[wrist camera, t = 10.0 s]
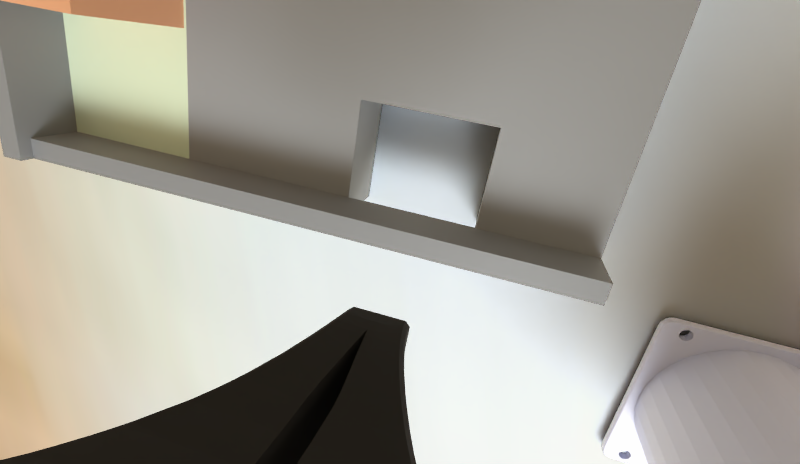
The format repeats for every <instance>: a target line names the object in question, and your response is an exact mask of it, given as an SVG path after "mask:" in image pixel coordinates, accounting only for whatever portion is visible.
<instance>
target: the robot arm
mask: <svg viewBox="0 0 800 464" xmlns="http://www.w3.org/2000/svg"><path fill="white" fill-rule="evenodd" d="M409 328H410V327H409V326H408V324H407V322H406V321H403V320H399V319H396V318H392V317H388V316H385V315H381V314H378V313H374V312H371V311H367V310H364V309H360V308H356V307H353V308H351V309H349V310H347V311H346V312H344V313H343V314H342V315H340V316H339V317H337V318H336V319H334V320H333V321H331V322H330V323H329V324H327V325H326V326H324V327H323V328H321V329H320V330H318V331H317V332H315V333H314V334H312V335H311V336H309V337H308V338H306V339H304V340H303V341H301V342H300V343H298V344H296V345H295V346H293V347H292V348H290V349H289V350H287V351H285V352H284V353H282V354H280V355H278V356H277V357H275V358H273V359H271V360H270V361H268V362H266V363H264V364H262V365H261V366H259V367H257V368H255V369H254V370H252V371H250V372H248V373H246V374H244V375H242V376H240V377H238V378H236V379H234V380H232V381H230V382H228V383H226V384H224V385H222V386H220V387H218V388H216V389H214V390H211V391H209V392H207V393H205V394H202V395H200V396H198V397H196V398H193V399H191V400H188V401H186V402H183V403H181V404H178V405H175V406H173V407H170V408H167V409H165V410H162V411H159V412H157V413H154V414H152V415H149V416H146V417H144V418H141V419H138V420H136V421H133V422H130V423H127V424H124V425H121V426H118V427H115V428H112V429H109V430H106V431H103V432H100V433H97V434H94V435H90V436H87V437H84V438H80V439H77V440H74V441H70V442H67V443H64V444H60V445H57V446H53V447H50V448H46V449H43V450H39V451H35V452H32V453H28V454H24V455H20V456H16V457H12V458H8V459H4V460H0V464H416V461H415V456H414V451H413V446H412V441H411V435H410V429H409V421H408V414H407V406H406V396H405V380H404V351H405V347H406V342H407V337H408V332H409ZM684 330H690V332H689V333H688V334H687V335H684V336H681V335H679V334H680V333H681V332H682V331H684ZM601 447H602V451H603V453H604V454H605V455H606V456H607V457H609V458H612V459H615V460H618V461H621V462H624V463H628V464H800V350H799V349H795V348H791V347H787V346H783V345H779V344H775V343H772V342H768V341H764V340H760V339H756V338H752V337H748V336H744V335H740V334H736V333H733V332H729V331H725V330H721V329H717V328H713V327H709V326H705V325H701V324H697V323H694V322H690V321H686V320H682V319H678V318H671V317H670V318H665V319H664V320H662V321H661V322H660V323H659V324H658V326H657V328H656V331H655V333H654V335H653V337H652V339H651V341H650V343H649V345H648V347H647V349H646V351H645V354H644V356H643V358H642V360H641V362H640V364H639V366H638V368H637V370H636V372H635V374H634V376H633V379H632V381H631V383H630V385H629V387H628V389H627V391H626V393H625V395H624V397H623V399H622V401H621V404H620V406H619V408H618V410H617V412H616V414H615V416H614V418H613V420H612V422H611V424H610V427H609V429H608V431H607V433H606V435H605V437H604V439H603V441H602V444H601ZM621 451H627V452H621Z"/></svg>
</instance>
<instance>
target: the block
mask: <svg viewBox="0 0 800 464" xmlns="http://www.w3.org/2000/svg"><path fill="white" fill-rule="evenodd" d="M0 1H6V2H11V3H16V4H21V5H26V6H31V7H37V8H42V9H47V10H52V11H57V12H62V13H68V14H74V15H82V16H90V17H98V18H106V19H113V20H121V21H129V22H137V23H145V24H153V25H161V26H169V27H177V28H184V5H183V0H0Z"/></svg>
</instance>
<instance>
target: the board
mask: <svg viewBox="0 0 800 464" xmlns="http://www.w3.org/2000/svg"><path fill="white" fill-rule="evenodd" d="M700 2H701V0H183V5H184V28H177V27H169V26H161V25H153V24H145V23H137V22H129V21H121V20H113V19H106V18H98V17H90V16H82V15H74V14H68V13H62V12H57V11H52V10H47V9H42V8H37V7H31V6H26V5H21V4H16V3H11V2H6V1H0V138H1V143H2V149H3V154H4V156H5V157H9V158H12V159H16V160H20V161H22V160H27V159H33V158H35V159H38V160H42V161H46V162H50V163H54V164H58V165H62V166H66V167H69V168H73V169H77V170H81V171H85V172H89V173H93V174H97V175H100V176H104V177H108V178H112V179H116V180H120V181H124V182H128V183H131V184H135V185H139V186H143V187H147V188H151V189H155V190H158V191H162V192H166V193H170V194H174V195H178V196H182V197H186V198H189V199H193V200H197V201H201V202H205V203H209V204H213V205H217V206H220V207H224V208H228V209H232V210H236V211H240V212H244V213H247V214H251V215H255V216H259V217H263V218H267V219H271V220H275V221H278V222H282V223H286V224H290V225H294V226H298V227H302V228H306V229H309V230H313V231H317V232H321V233H325V234H329V235H333V236H337V237H340V238H344V239H348V240H352V241H356V242H360V243H364V244H367V245H371V246H375V247H379V248H383V249H387V250H391V251H395V252H398V253H402V254H406V255H410V256H414V257H418V258H422V259H426V260H429V261H433V262H437V263H441V264H445V265H449V266H453V267H456V268H460V269H464V270H468V271H472V272H476V273H480V274H484V275H487V276H491V277H495V278H499V279H503V280H507V281H511V282H515V283H518V284H522V285H526V286H530V287H534V288H538V289H542V290H546V291H549V292H553V293H557V294H561V295H565V296H569V297H573V298H576V299H580V300H584V301H588V302H592V303H596V304H600V305H605V302H606V300H607V297H608V295H609V293H610V290H611V288H612V285H613V283H612V281H611V279H610V277H609V275H608V273H607V270H606V268H605V266H604V264H603V262H602V260H601V257H602V254H603V251H604V249H605V246H606V244H607V241H608V239H609V236H610V233H611V231H612V228H613V226H614V223H615V221H616V218H617V215H618V213H619V210H620V208H621V205H622V203H623V200H624V198H625V195H626V192H627V190H628V187H629V185H630V182H631V180H632V177H633V174H634V172H635V169H636V167H637V164H638V162H639V159H640V156H641V154H642V151H643V149H644V146H645V144H646V141H647V138H648V136H649V133H650V131H651V128H652V126H653V123H654V120H655V118H656V115H657V113H658V110H659V108H660V105H661V102H662V100H663V97H664V95H665V92H666V90H667V87H668V85H669V82H670V79H671V77H672V74H673V72H674V69H675V67H676V64H677V61H678V59H679V56H680V54H681V51H682V49H683V46H684V43H685V41H686V38H687V36H688V33H689V31H690V28H691V25H692V23H693V20H694V18H695V15H696V13H697V10H698V7H699V5H700ZM382 104H386V105H390V106H395V107H400V108H405V109H410V110H415V111H420V112H425V113H430V114H435V115H439V116H444V117H449V118H454V119H459V120H464V121H469V122H474V123H479V124H484V125H489V126H493V127H498V128H500V131H499V135H498V139H497V142H496V146H495V150H494V154H493V158H492V162H491V166H490V170H489V174H488V178H487V182H486V186H485V190H484V194H483V198H482V201H481V205H480V209H479V213H478V217H477V221H476V225H475V228H473V227H469V226H465V225H461V224H457V223H452V222H448V221H444V220H440V219H436V218H432V217H428V216H424V215H419V214H415V213H411V212H407V211H403V210H399V209H395V208H391V207H386V206H382V205H378V204H374V203H370V202H366V201H364V200H365V199H366V198H367V197H368V196H369V191H370V185H371V178H372V171H373V164H374V157H375V150H376V144H377V137H378V130H379V123H380V116H381V109H382Z"/></svg>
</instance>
